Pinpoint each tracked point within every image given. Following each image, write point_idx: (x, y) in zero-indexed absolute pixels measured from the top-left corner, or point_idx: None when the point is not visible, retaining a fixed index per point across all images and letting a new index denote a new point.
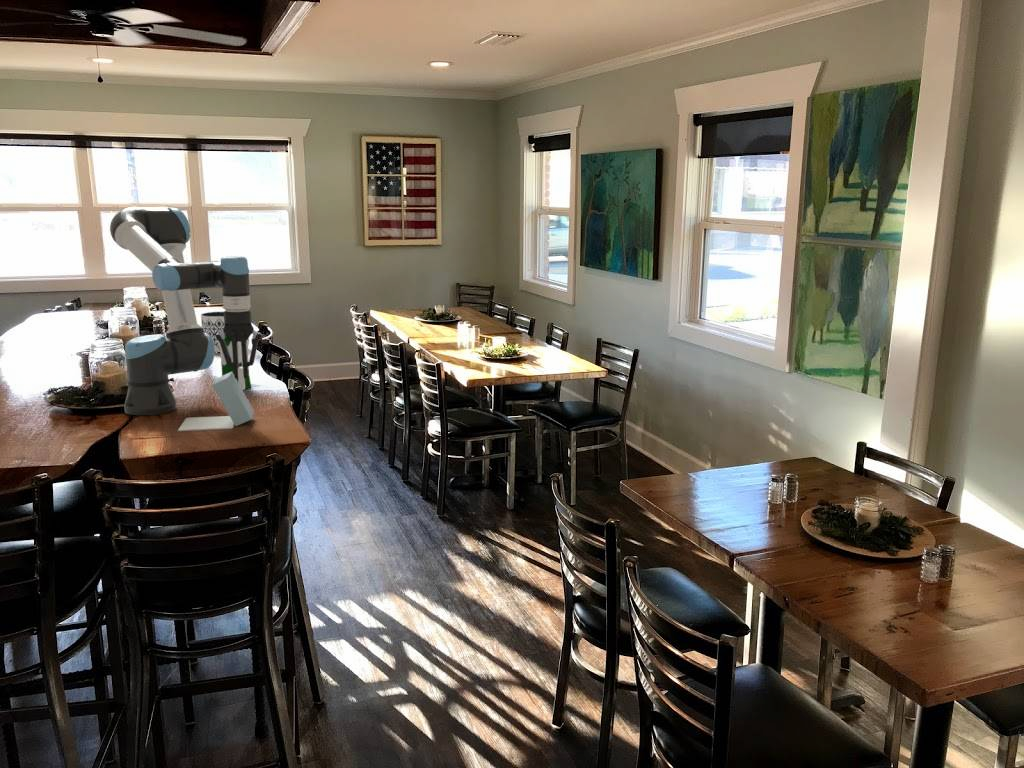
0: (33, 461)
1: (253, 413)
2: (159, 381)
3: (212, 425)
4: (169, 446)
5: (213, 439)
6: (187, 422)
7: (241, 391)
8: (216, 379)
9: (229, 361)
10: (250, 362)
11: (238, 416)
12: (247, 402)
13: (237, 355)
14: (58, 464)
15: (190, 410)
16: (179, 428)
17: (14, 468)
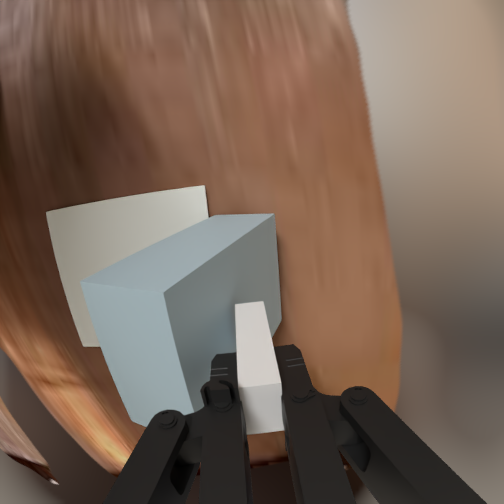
0: (4, 441)
1: (276, 242)
2: None
3: None
4: (132, 439)
5: None
6: (69, 272)
7: (237, 279)
8: (94, 320)
9: (188, 478)
10: (349, 447)
11: None
12: (260, 258)
13: (250, 499)
14: (39, 461)
15: (32, 97)
16: (79, 333)
17: (10, 455)
